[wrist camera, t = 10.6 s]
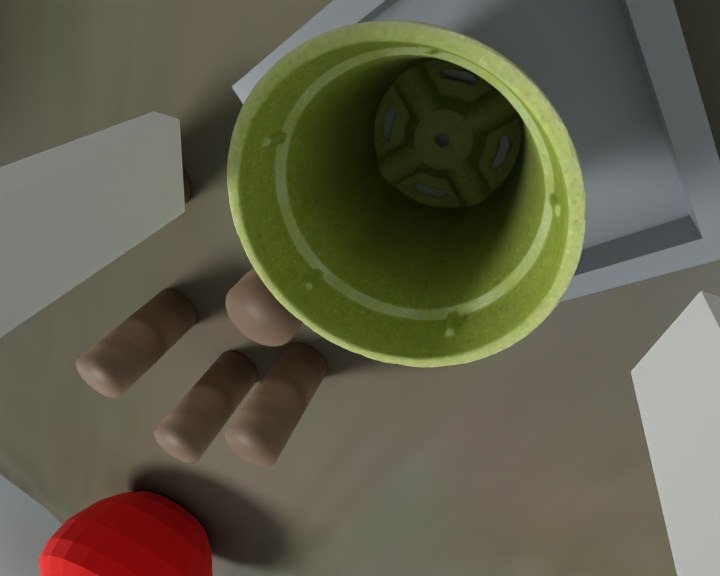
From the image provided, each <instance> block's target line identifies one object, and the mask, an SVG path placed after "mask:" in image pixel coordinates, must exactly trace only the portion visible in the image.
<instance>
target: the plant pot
mask: <svg viewBox="0 0 720 576" xmlns="http://www.w3.org/2000/svg"><path fill="white" fill-rule="evenodd" d="M445 70H457V71H462V72H468V73H469V74H473V76H474V78H475V79H476V84H475V85H472V84H469V83H466V82H463V81H459V80H454V79H447V78H442V77H441V73H443V72H444V71H445ZM391 108H395V109H396V115H395V118H394V122H393V125H392V130H391V135H390V140H389V141H387V138H386V137H385V131H384V122H385V118H386V115H387V112H388V111H389V110H390V109H391ZM440 134H444V135H446V136H447V137H448V138H449V142H448V144H447V145H446V146H443V147H442V146H439V145H438V144H437V143H436V137H437V136H438V135H440ZM504 135H505V136H507V138H508V139H509V148H508V151H507V153H506V155H505V158H504V161H503V162H502V164H501V165H500V166H499V168H497V169H492V167H491V164H492V163H493V161H494V158H495V157H496V154H497V152H498V149H499V146H500V139H501V137H502V136H504ZM418 183H420V184H422V185H425V186H428V187H430V188H434V189H438V190H444V191H445V192H446V194H445V195H444V196H443V197H438V196H434V195H427V194H423V193H421V192H419V191H418V190H417V189H416V186H415V185H416V184H418ZM227 185H228V193H229V202H230V207H231V212H232V217H233V221H234V225H235V227H236V230H237V234H238V235H239V237H240V240H241V243H242V245H243V247H244V249H245V252H246V254H247V257H248V258H249V260H250V262H251V264H252V266H253V267H254V269H255V271H256V272H257V274H258V275H259V277H260V278H261V280H262V281H263V282H264V284H265V285H266V286H267V288H268V289H269V290H270V291H271V293H272V294H273V295H274V296H275V298H276V299H277V300H278V301H279V302H280V303H281V304H282V305H283V306H284V307H285V308H286V309H287V310H288V311H289V312H291V313H292V314H293V315H294V316H295V317H296V318H298V319H299V320H301V321H302V322H303V323H304V324H306V325H307V326H308V327H310V328H311V329H312V330H313V331H315V332H316V333H318V334H319V335H321V336H322V337H324V338H325V339H327V340H329V341H330V342H332V343H334V344H336V345H338V346H340V347H342V348H345V349H347V350H349V351H351V352H354V353H358V354H361V355H363V356H365V357H367V358H370V359H374V360H378V361H382V362H385V363H393V364H400V365H406V366H412V367H440V366H448V365H455V364H463V363H468V362H472V361H476V360H479V359H482V358H485V357H487V356H490V355H492V354H495V353H497V352H500V351H502V350H504V349H506V348H508V347H510V346H512V345H513V344H515V343H516V342H518V341H519V340H521V339H523V338H524V337H525V336H527V335H528V334H529V333H531V332H532V331H533V330H534V329H536V328H537V327H538V326H539V325H540V324H541V323H542V322H543V321H544V320H545V319H546V318H547V317H548V316H549V315H550V313H551V312H552V311H553V310H554V309H555V307H556V306H557V305H558V303H559V302H560V300H561V298H562V297H563V295H564V294H565V292H566V290H567V289H568V287H569V285H570V282H571V280H572V278H573V276H574V274H575V272H576V269H577V266H578V263H579V260H580V258H581V253H582V249H583V245H584V240H585V233H586V220H587V200H586V190H585V182H584V177H583V172H582V167H581V164H580V161H579V157H578V154H577V151H576V148H575V145H574V143H573V141H572V138H571V136H570V134H569V132H568V130H567V128H566V126H565V124H564V122H563V120H562V118H561V116H560V115H559V113H558V112H557V110H556V109H555V107H554V106H553V104H552V103H551V101H550V100H549V99H548V97H547V96H546V95H545V93H544V92H543V91H542V90H541V89H540V88H539V86H538V85H537V84H536V83H535V82H534V81H533V80H532V79H531V78H530V77H529V76H528V75H527V74H526V73H525V72H524V71H523V70H522V69H521V68H520V67H519V66H517V65H516V64H515V63H513V62H512V61H511V60H509V59H508V58H507V57H505V56H504V55H503V54H501V53H500V52H498V51H496V50H495V49H493V48H492V47H490V46H488V45H486V44H484V43H482V42H480V41H478V40H476V39H474V38H472V37H470V36H468V35H465V34H463V33H460V32H457V31H455V30H451V29H448V28H445V27H442V26H438V25H433V24H428V23H423V22H414V21H401V20H383V21H370V22H363V23H356V24H352V25H347V26H343V27H340V28H337V29H334V30H331V31H328V32H325V33H322V34H320V35H318V36H316V37H314V38H312V39H310V40H308V41H306V42H304V43H302V44H300V45H299V46H297V47H296V48H294V49H293V50H291V51H290V52H289V53H287V54H286V55H285V56H283V57H282V58H281V59H280V60H279V61H278V62H276V63H275V64H274V65H273V66H272V67H271V68H270V69H269V70H268V71H267V72H266V73H265V75H264V76H263V77H262V78H261V79H260V80H259V81H258V83H257V84H256V85H255V86H254V88H253V89H252V91H251V92H250V94H249V95H248V97H247V99H246V100H245V102H244V104H243V106H242V108H241V111H240V113H239V115H238V118H237V121H236V123H235V127H234V130H233V133H232V137H231V142H230V148H229V154H228V161H227Z"/></svg>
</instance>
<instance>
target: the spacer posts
mask: <svg viewBox="0 0 720 576" xmlns="http://www.w3.org/2000/svg"><path fill="white" fill-rule="evenodd" d="M182 168H183V167H182ZM183 185H184V201H185V203H187V202H188V200H189V198H190V195H191V184H190V181H189V178H188V175H187V173H186V172H185V170H184V169H183ZM225 303H226V310H227V313H228V315H229V317H230V319H231V321H232V322H233V324H234V325H235V326H236V327H237V329H238V330H239V331H240V332H241V333H243V334H244V335H245V336H246V337H248V338H249V339H251V340H253V341H255V342H257V343H259V344H262V345H266V346H281V345H284V344H286V343H287V342H289V341H290V340H291V338H292V337H293V336H294V334H295V333H296V331H297V330H298V329H299V327H300V326H301V324H302V323H303V322H302V321H301V320H299V319H298V318H296V317H295V316H294V315H293V314H292V313H291V312H289V311H288V310H287V309H286V308H285V307H284V306H283V305H282V304H281V303H280V302H279V301H278V300H277V299H276V298H275V296H274V295H273V294H272V293H271V291H270V290H269V289H268V288H267V286H266V285H265V284H264V282H263V281H262V280H261V278H260V277H259V275H258V274H257V272H256V271H255V269H254V267H253V268H252V269H251V270H250V271H249V272H248V273H247V274H246V275H244V276H243V277H242V278H241V279H240V280H239V281H238V282H237V283H236V284H235V285H234V286H233V287H232V288H231V289H230V290H229V292H228V294H227V296H226V302H225ZM196 322H197V312H196V310H195V308H194V306H193V305H192V303H191V302H190V301H189V300H188V299H187V298H186V297H185V296H184V295H182V294H181V293H179V292H177V291H174V290H169V289H166V290H163V291H161V292H160V293H159V294H157V295H156V296H155V297H154V298H152V299H151V300H150V301H149V302H147V303H146V304H145V305H144V306H143V307H141V308H140V309H139V310H138V311H136V312H135V313H134V314H133V315H131V316H130V317H129V318H128V319H126V320H125V321H124V322H123V323H122V324H120V325H119V326H118V327H117V328H115V329H114V330H113V331H112V332H110V333H109V334H108V335H107V336H105V337H104V338H103V339H102V340H101V341H99V342H98V343H97V344H96V345H94V346H93V347H92V348H91V349H89V350H88V351H87V352H86V353H84V354H83V355H82V356H81V357H80V358H78V359H77V361H76V366H77V369H78V372H79V373H80V375H81V376H82V378H83V379H84V380H85V381H86V382H87V383H88V384H89V385H90V386H91V387H92V388H94V389H95V390H96V391H98V392H100V393H101V394H103V395H105V396H108V397H112V398H119V397H121V396H122V395H123V394H124V393H125V392H126V391H127V390H128V389H129V388H130V387H131V386H132V385H133V384H134V383H135V382H136V381H137V380H138V379H139V378H140V377H141V376H142V375H143V374H144V373H145V372H146V371H147V370H148V369H149V368H150V367H151V366H152V365H154V364H155V363H156V362H157V361H158V360H159V359H160V358H161V357H162V356H163V355H164V354H165V353H166V352H167V351H168V350H169V349H170V348H171V347H172V346H173V345H174V344H175V343H176V342H177V341H178V340H179V339H180V338H181V337H182V336H183V335H184V334H185V333H186V332H187V331H188V330H189V329H190V328H191V327H192V326H193V325H194V324H195V323H196ZM326 372H327V364H326V361H325V359H324V358H323V356H322V355H321V354H320V353H319V352H318V351H317V350H315V349H314V348H312V347H311V346H308V345H306V344H302V343H293V344H290V345H288V346H287V347H286V348H285V349H284V351H283V352H282V354H281V355H280V356H279V358H278V359H277V361H276V362H275V363H274V365H273V366H272V368H271V369H270V370H269V372H268V373H267V375H266V376H265V377H264V379H263V380H262V382H261V383H260V384H259V386H258V387H257V389H256V390H255V391H254V393H253V394H252V395H251V397H250V398H249V400H248V401H247V402H246V404H245V405H244V407H243V408H242V409H241V411H240V412H239V414H238V415H237V416H236V418H235V419H234V421H233V422H232V423H231V425H230V426H229V428H228V429H227V430H226V432H225V439H226V442H227V444H228V445H229V447H230V448H231V449H232V450H233V451H234V452H235V453H236V454H237V455H238V456H240V457H241V458H242V459H244V460H246V461H248V462H250V463H252V464H255V465H258V466H271V465H273V464H274V463H275V462H276V460H277V459H278V457H279V455H280V453H281V452H282V450H283V448H284V446H285V444H286V443H287V441H288V439H289V437H290V436H291V434H292V432H293V430H294V429H295V427H296V425H297V423H298V422H299V420H300V418H301V416H302V415H303V413H304V411H305V409H306V408H307V406H308V404H309V402H310V401H311V399H312V397H313V395H314V394H315V392H316V390H317V388H318V387H319V385H320V383H321V381H322V379H323V378H324V376H325V374H326ZM257 379H258V372H257V369H256V367H255V366H254V365H253V363H252V362H251V361H250V360H249V359H248V358H246V357H245V356H243V355H241V354H239V353H237V352H232V351H227V352H224V353H222V354H221V356H220V357H219V358H218V359H217V360H216V361H215V362H214V364H213V365H212V366H211V367H210V368H209V369H208V370H207V372H206V373H205V374H204V375H203V376H202V377H201V378H200V380H199V381H198V382H197V383H196V384H195V385H194V387H193V388H192V389H191V390H190V391H189V392H188V393H187V395H186V396H185V397H184V398H183V399H182V400H181V401H180V403H179V404H178V405H177V406H176V407H175V408H174V409H173V411H172V412H171V413H170V414H169V415H168V416H167V417H166V419H165V420H164V421H163V422H162V423H161V424H160V426H159V427H158V428H157V429H156V430H155V432H154V435H155V438H156V440H157V442H158V444H159V445H160V446H161V447H162V448H163V449H164V450H165V451H166V452H167V453H169V454H170V455H171V456H173V457H175V458H177V459H178V460H181V461H183V462H187V463H195V462H197V461H198V460H199V459H200V457H201V456H202V455H203V453H204V452H205V451H206V449H207V448H208V446H209V445H210V444H211V442H212V441H213V440H214V438H215V437H216V436H217V434H218V433H219V431H220V430H221V429H222V427H223V426H224V425H225V423H226V422H227V420H228V419H229V418H230V416H231V415H232V414H233V412H234V411H235V409H236V408H237V407H238V405H239V404H240V403H241V401H242V400H243V399H244V397H245V396H246V394H247V393H248V392H249V390H250V389H251V388H252V386H253V385H254V383H255V382H256V381H257Z"/></svg>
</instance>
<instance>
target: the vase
mask: <svg viewBox="0 0 720 576" xmlns="http://www.w3.org/2000/svg"><path fill="white" fill-rule="evenodd" d="M39 562H40V572H41V576H212V555H211V548H210V544H209V541H208V537H207V534H206V531H205V530H204V528H203V526H202V525H201V524H200V523H199V521H198V520H197V519H196V518H195V517H194V516H193V515H191V514H190V513H189V512H188V511H187V510H185V509H184V508H183V507H181V506H180V505H178V504H177V503H175V502H173V501H172V500H170V499H168V498H165V497H163V496H161V495H159V494H155V493H152V492H147V491H138V492H128V493H122V494H118V495H115V496H112V497H109V498H106V499H103V500H100V501H98V502H96V503H94V504H93V505H91V506H89V507H88V508H86V509H84V510H83V511H81V512H79V513H78V514H76V515H74V516H73V517H71V518H70V519H68V520H67V521H66V522H65V523H64V524H63V525H62V526H61V528H60V529H59V530H58V531H57V532H56V533H55V534H54V535H53V536H52V537H51V538H50V539H49V541H48V542H47V543H46V545H45V547H44V549H43V552H42V554H41V556H40V558H39Z"/></svg>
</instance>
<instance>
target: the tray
mask: <svg viewBox="0 0 720 576" xmlns="http://www.w3.org/2000/svg"><path fill="white" fill-rule="evenodd" d="M383 20H401V21H414V22H423V23H428V24H433V25H438V26H442V27H445V28H448V29H451V30H455V31H457V32H460V33H463V34H465V35H468V36H470V37H472V38H474V39H476V40H478V41H480V42H482V43H484V44H486V45H488V46H490V47H492V48H493V49H495V50H496V51H498V52H500V53H501V54H503V55H504V56H505V57H507V58H508V59H509V60H511V61H512V62H513V63H515V64H516V65H517V66H519V67H520V68H521V69H522V70H523V71H524V72H525V73H526V74H527V75H528V76H529V77H530V78H531V79H532V80H533V81H534V82H535V83H536V84H537V85H538V86H539V88H540V89H541V90H542V91H543V92H544V93H545V95H546V96H547V97H548V99H549V100H550V101H551V103H552V104H553V106H554V107H555V109H556V110H557V112H558V113H559V115H560V116H561V118H562V120H563V122H564V124H565V126H566V128H567V130H568V132H569V134H570V136H571V138H572V141H573V143H574V145H575V148H576V151H577V154H578V157H579V161H580V164H581V167H582V172H583V177H584V182H585V190H586V200H587V220H586V233H585V240H584V245H583V249H582V253H581V258H580V260H579V263H578V266H577V269H576V272H575V274H574V276H573V278H572V280H571V282H570V285H569V287H568V289H567V290H566V292H565V294H564V295H563V297H562V298H561V300H560V302H562V301H565V300H569V299H573V298H577V297H581V296H584V295H588V294H592V293H596V292H599V291H603V290H607V289H611V288H614V287H618V286H622V285H626V284H629V283H633V282H637V281H641V280H644V279H648V278H652V277H656V276H659V275H663V274H667V273H671V272H674V271H678V270H682V269H686V268H689V267H693V266H697V265H701V264H704V263H708V262H712V261H716V260H719V259H720V160H719V156H718V153H717V150H716V146H715V143H714V139H713V136H712V132H711V129H710V125H709V122H708V118H707V115H706V112H705V108H704V105H703V101H702V98H701V94H700V91H699V87H698V84H697V80H696V77H695V74H694V70H693V67H692V63H691V60H690V56H689V53H688V49H687V46H686V42H685V39H684V35H683V32H682V29H681V25H680V22H679V18H678V15H677V11H676V8H675V4H674V1H673V0H333V1H332V2H331V3H329V4H328V5H327V6H326V7H325V8H324V9H322V10H321V11H320V12H319V13H318V14H317V15H315V16H314V17H313V18H312V19H311V20H309V21H308V22H307V23H306V24H305V25H304V26H302V27H301V28H300V29H299V30H298V31H297V32H295V33H294V34H293V35H292V36H291V37H289V38H288V39H287V40H286V41H285V42H284V43H282V44H281V45H280V46H279V47H278V48H277V49H275V50H274V51H273V52H272V53H271V54H269V55H268V56H267V57H266V58H265V59H264V60H262V61H261V62H260V63H259V64H258V65H257V66H255V67H254V68H253V69H252V70H251V71H249V72H248V73H247V74H246V75H245V76H244V77H242V78H241V79H240V80H239V81H238V82H237V83H235V84H234V85H233V86H232V88H233V90H234V91H235V93H236V94H237V96H238V97H239V99H240V100H241V102H242V103H243V104H244V102H245V100H246V99H247V97H248V95H249V94H250V92H251V91H252V89H253V88H254V86H255V85H256V84H257V83H258V81H259V80H260V79H261V78H262V77H263V76H264V75H265V73H266V72H267V71H268V70H269V69H270V68H271V67H272V66H273V65H274V64H275V63H276V62H278V61H279V60H280V59H281V58H282V57H283V56H285V55H286V54H287V53H289V52H290V51H291V50H293V49H294V48H296V47H297V46H299V45H300V44H302V43H304V42H306V41H308V40H310V39H312V38H314V37H316V36H318V35H320V34H322V33H325V32H328V31H331V30H334V29H337V28H340V27H343V26H347V25H352V24H356V23H363V22H370V21H383ZM441 77H442V78H447V79H454V80H459V81H463V82H466V83H469V84H472V85H475V84H476V79H475V78H474V76H473V74H469V73H468V72H462V71H457V70H445V71H444V72H443V73H441ZM395 115H396V109H395V108H391V109H390V110H389V111H388V112H387V115H386V118H385V122H384V131H385V137H386V138H387V141H389V140H390V135H391V130H392V125H393V122H394V118H395ZM448 142H449V138H448V137H447V136H446V135H444V134H440V135H438V136H437V137H436V143H437V144H438V145H439V146H442V147H443V146H446V145H447V144H448ZM508 148H509V139H508V138H507V136H505V135H504V136H502V137H501V139H500V146H499V149H498V152H497V154H496V157H495V158H494V161H493V163H492V164H491V167H492V169H497V168H499V166H500V165H501V164H502V162H503V161H504V158H505V155H506V153H507V151H508ZM415 186H416V189H417V190H418V191H419V192H421V193H423V194H427V195H434V196H438V197H443V196H444V195H445V194H446V192H445V191H444V190H438V189H434V188H430V187H428V186H425V185H422V184H420V183H418V184H416V185H415Z"/></svg>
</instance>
